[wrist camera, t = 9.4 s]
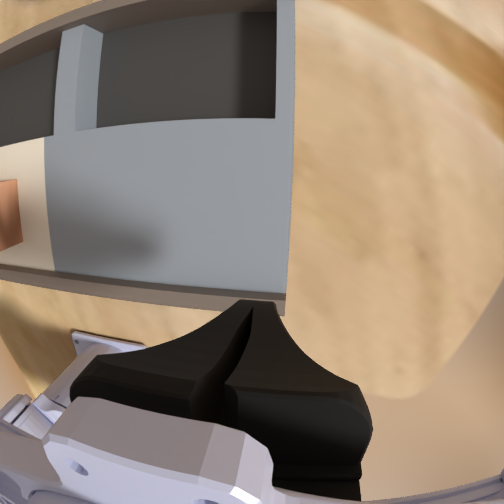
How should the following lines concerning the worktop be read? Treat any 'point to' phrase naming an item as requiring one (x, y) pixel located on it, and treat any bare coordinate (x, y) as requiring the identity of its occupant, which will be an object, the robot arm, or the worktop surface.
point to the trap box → (153, 151)
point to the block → (9, 215)
